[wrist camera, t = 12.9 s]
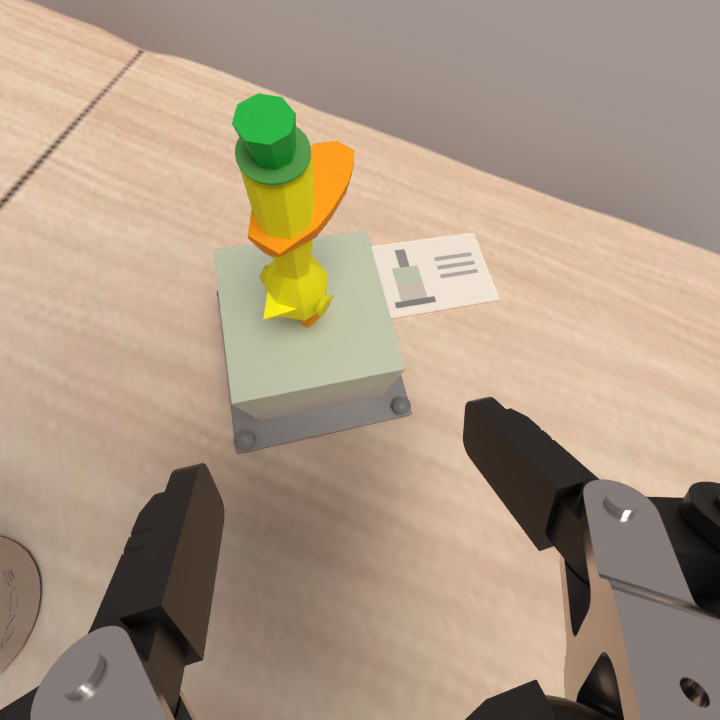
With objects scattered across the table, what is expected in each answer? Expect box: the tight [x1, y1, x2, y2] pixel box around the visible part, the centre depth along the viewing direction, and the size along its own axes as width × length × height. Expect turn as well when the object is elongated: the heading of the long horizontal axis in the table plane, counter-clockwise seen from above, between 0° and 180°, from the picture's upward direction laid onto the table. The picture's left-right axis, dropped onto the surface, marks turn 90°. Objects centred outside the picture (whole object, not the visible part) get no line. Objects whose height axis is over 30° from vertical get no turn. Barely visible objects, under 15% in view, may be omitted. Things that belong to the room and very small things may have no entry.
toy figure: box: [232, 93, 354, 328], centre depth 14 cm, size 7×4×12 cm, turn 149°
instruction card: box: [371, 233, 500, 319], centre depth 32 cm, size 12×8×1 cm, turn 103°
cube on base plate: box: [213, 230, 412, 454], centre depth 24 cm, size 14×14×9 cm
